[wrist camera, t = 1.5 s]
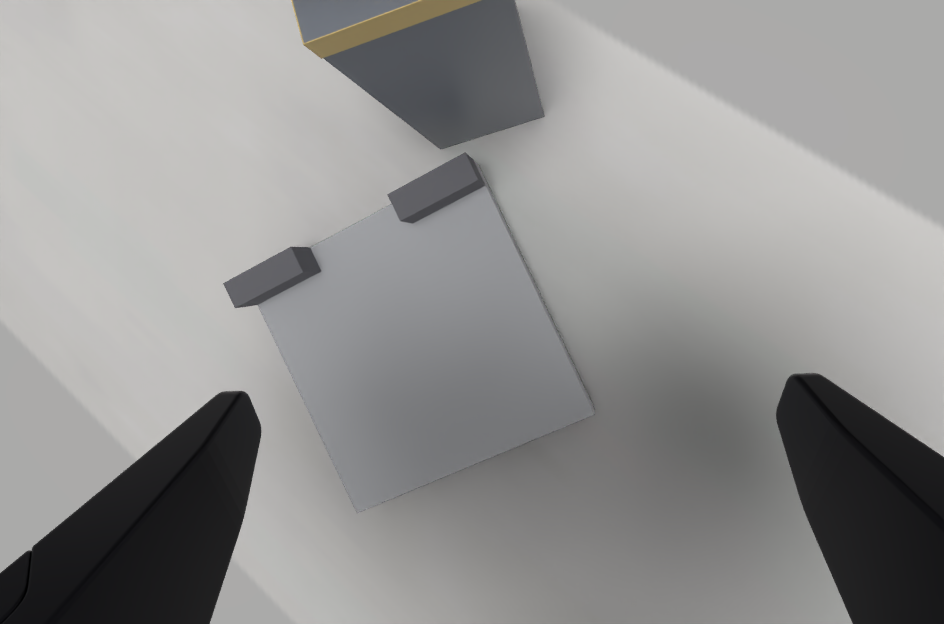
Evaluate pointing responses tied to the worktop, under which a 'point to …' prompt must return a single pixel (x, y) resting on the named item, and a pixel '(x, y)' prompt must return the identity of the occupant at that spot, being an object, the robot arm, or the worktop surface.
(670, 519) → the worktop surface
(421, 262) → the pad
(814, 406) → the robot arm
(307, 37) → the grey block
